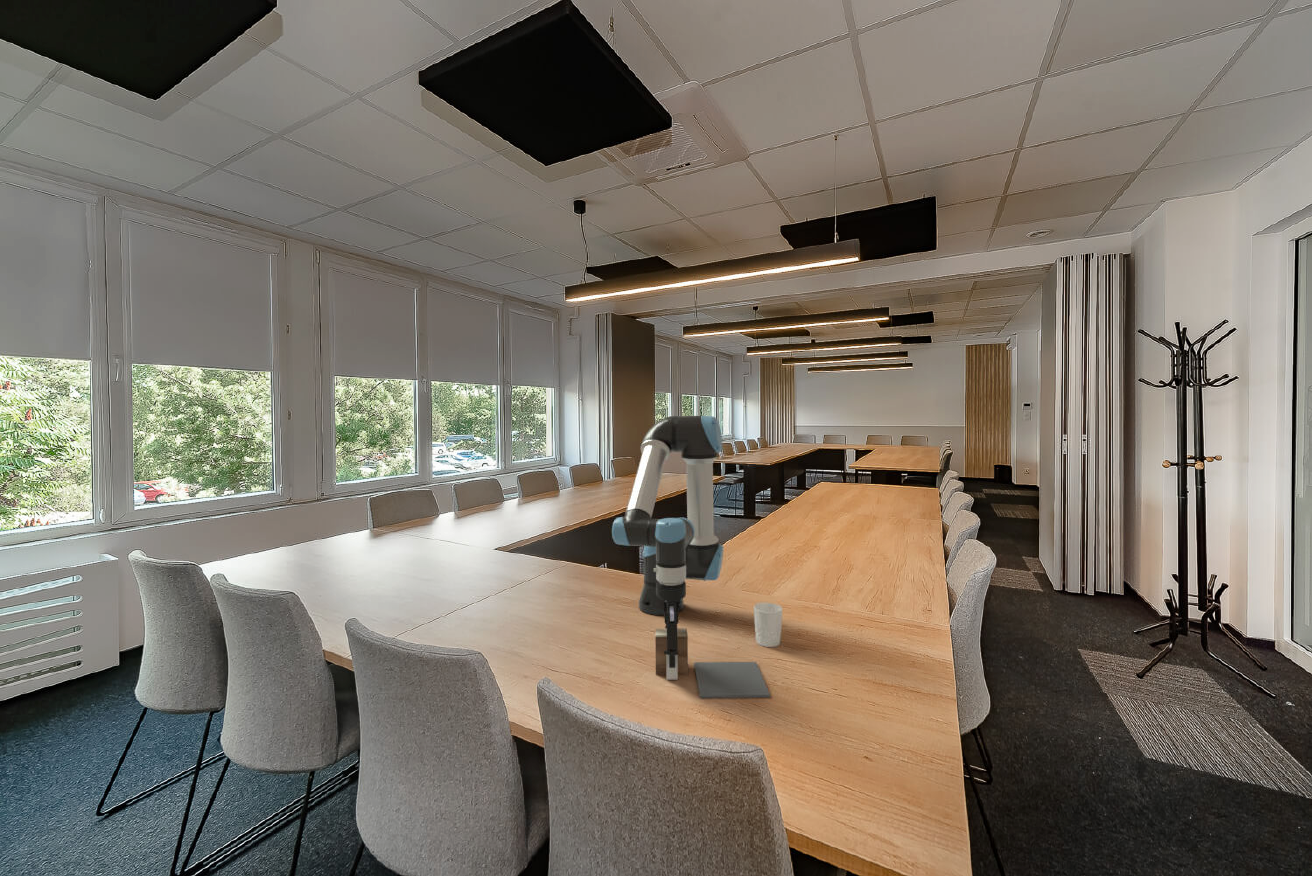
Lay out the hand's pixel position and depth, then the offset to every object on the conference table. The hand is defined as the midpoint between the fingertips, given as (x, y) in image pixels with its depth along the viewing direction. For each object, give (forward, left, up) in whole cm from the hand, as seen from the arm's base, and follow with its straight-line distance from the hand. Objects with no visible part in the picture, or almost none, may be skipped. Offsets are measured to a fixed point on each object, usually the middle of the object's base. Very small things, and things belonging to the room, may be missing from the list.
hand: (671, 669), depth 129 cm
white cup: (-16, +28, 0) cm, 32 cm away
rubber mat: (+5, +14, 0) cm, 15 cm away
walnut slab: (0, 0, 0) cm, 0 cm away
